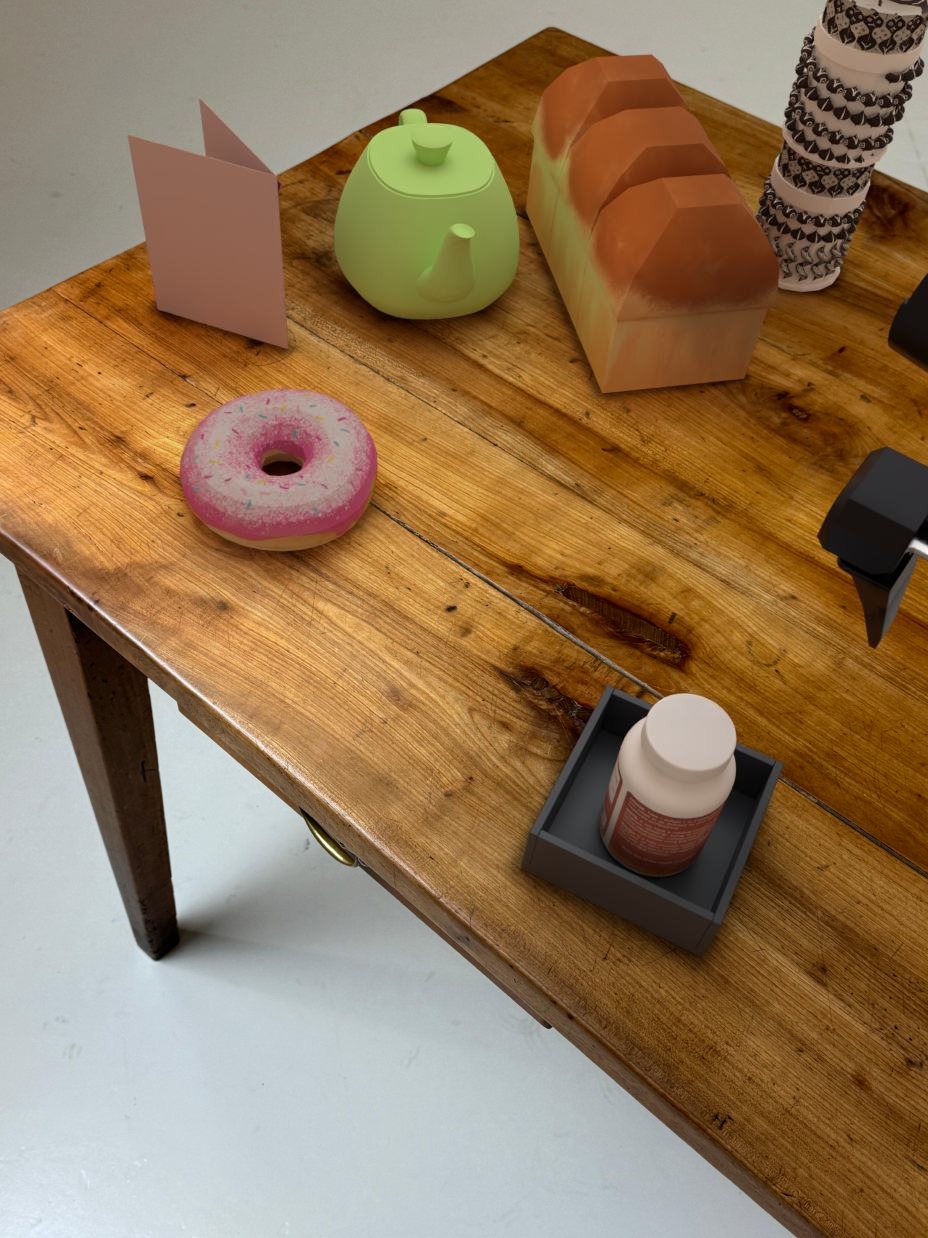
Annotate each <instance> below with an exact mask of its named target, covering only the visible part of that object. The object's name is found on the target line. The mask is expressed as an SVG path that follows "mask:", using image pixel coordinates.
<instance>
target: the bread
mask: <svg viewBox="0 0 928 1238" xmlns="http://www.w3.org/2000/svg"><path fill="white" fill-rule="evenodd" d="M530 132H531V134H532V136H533V139H534V140H533V148H532V155H531V165H530V173H529V181H528V188H527V196H526V204H525V213H526V214H527V217H528V219H529V222H530V224H531V226H532V229H533V232H534V234H535V236H536V239H537V241H538V243H539V245H540V248H541V250H542V252H543V255H544V258H545V260H546V263H547V264H548V267H549V270H550V272H551V274H552V276H553V280H554V281H555V285H556V286H557V288H558V291H559V293H560V295H561V298H562V301H563V303H564V305H565V308H566V310H567V312H568V315H569V317H570V320H571V322H572V324H573V327H574V329H575V332H576V335H577V336H578V339H579V341H580V343H581V346H582V348H583V351H584V353H585V357H586V358H587V361H588V363H589V364H590V367H591V370H592V373H593V375H594V377H595V380H596V382H597V384H598V387H599V389H600V391H601V394H609V393H619V392H620V393H621V392H629V391H639V390H648V389H655V388H656V389H657V388H667V387H677V386H686V385H687V386H688V385H697V384H705V383H714V382H715V383H716V382H725V381H733V380H743V379H745V378H746V375H747V372H748V370H749V366H750V363H751V360H752V357H753V354H754V351H755V348H756V345H757V342H758V339H759V337H760V334H761V330H762V327H763V325H764V321H765V320H766V316H767V312H768V309H771V308H772V307H774V306H777V303H778V291H779V287H778V281H779V269H780V264H779V262H778V260H777V258H776V255H775V253H774V251H773V249H772V247H771V245H770V243H769V240H768V238H767V236H766V234H765V232H764V231H763V229H762V227H761V226H760V224H759V222H758V221H757V219H756V217H755V216H754V215H755V214H754V213H753V210H752V209H751V207H750V205H749V204H748V202H747V200H746V199H745V198H744V196H743V194H742V192H741V190H739V187H738V186H737V184H736V183H735V181H734V179H732V177H731V175H730V172H729V170H728V168H727V166H726V165H725V162H724V161H723V159H722V158H721V156H720V155H719V153H718V151H717V150H716V148H715V147H714V145H713V143H712V142H711V139H710V138H709V136H708V134H707V133H706V131H705V130H704V128H703V127H702V125H701V123H700V121H699V119H698V118H697V117H696V116H695V115H693V113H692V111H691V108H690V107H689V105H688V103H687V102H686V100H685V99H684V97H683V95H682V94H681V92H680V90H679V89H678V87H677V85H676V83H675V82H674V80H673V79H672V77H671V75H670V74H669V72H668V70H667V69H666V67H665V65H664V63H662V62H661V61H660V60H659V59H658V58H656V56H654V55H653V54H651V53H650V54H630V55H629V54H628V55H611V56H610V55H609V56H594V57H591V58H590V59H587V60H584V61H582V62H579V63H577V64H575V65H572V66H570V67H567V68H566V69H565V70H564V71H563V72H562V73H561V74H560V75H559V76H557V78H555V79H554V80H553V82H551V83H550V84H548V86H547V87H546V88H545V89H544V90H543V92H542V95H541V98H540V101H539V104H538V107H537V109H536V112H535V115H534V118H533V121H532V123H531V126H530Z"/></svg>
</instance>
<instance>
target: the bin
mask: <svg viewBox="0 0 928 1238" xmlns="http://www.w3.org/2000/svg"><path fill="white" fill-rule="evenodd" d="M654 705H655V704H652V703H650V702H648V701H645V700H643V699H641V698H639V697H637V696H634V695H632V694H630V693H627V692H626V691H623V690H621V689H618V688H616V687H614V686H612V685H610V684H606V686H605V688H604V690H603V692H602V693H601V696H600V697H599V699H598V702H597V703H596V705H595V707H594V708H593V711H592V712H591V715H590V717H589V719H588V720H587V722H586V724H585V726H584V728H583V730H582V731H581V733H580V736H579V737H578V739H577V740H576V743H575V744H574V747H573V749H572V751H571V753H570V755H569V756H568V758H567V760H566V762H565V764H564V766H563V768H562V769H561V771H560V774H559V775H558V777H557V779H556V781H555V784H554V785H553V787H552V788H551V790H550V792H549V794H548V795H547V798H546V800H545V802H544V804H543V806H542V807H541V809H540V811H539V813H538V815H537V817H536V819H535V821H534V823H533V824H532V827H531V828H530V830H529V832H528V836H527V841H526V845H525V848H524V853H523V856H522V861H521V865H520V869H522V870H523V871H526V872H528V873H530V874H532V875H534V876H536V877H538V878H540V879H541V880H544V881H546V882H548V883H550V884H552V885H554V886H556V887H558V888H560V889H562V890H564V891H566V892H569V893H570V894H572V895H574V896H576V897H578V898H581V899H582V900H584V901H586V902H588V903H590V904H592V905H594V906H597V907H599V908H601V909H603V910H605V911H606V912H609V913H611V914H613V915H614V916H617V917H618V918H621V919H623V920H625V921H627V922H629V923H630V924H632V925H635V926H637V927H638V928H641V929H643V930H645V931H647V932H649V933H652V934H653V935H654V936H657V937H659V938H661V939H663V940H665V941H667V942H669V943H671V944H674V945H676V946H677V947H680V948H681V949H683V950H686V951H687V952H690V953H692V954H694V955H696V956H698V957H700V958H702V957H703V955H704V954H705V952H706V950H707V949H708V947H709V945H710V944H711V942H712V941H713V939H714V938H715V936H716V935H717V933H718V931H719V929H720V928H721V926H722V924H723V921H724V920H725V916H726V914H727V912H728V909H729V906H730V903H731V901H732V898H733V896H734V894H735V891H736V888H737V885H738V884H739V880H740V878H741V876H742V873H743V870H744V868H745V865H746V863H747V860H748V858H749V856H750V852H751V850H752V848H753V845H754V842H755V840H756V837H757V836H758V835H757V834H758V833H759V830H760V827H761V825H762V822H763V819H764V817H765V815H766V811H767V810H768V807H769V805H770V802H771V799H772V796H773V794H774V791H775V789H776V786H777V784H778V781H779V779H780V776H781V774H782V770H783V768H784V766H785V763H784V762H781V761H779V760H776V759H775V758H773V757H771V756H768V755H766V754H764V753H761V752H759V751H757V750H755V749H752V748H750V747H748V746H746V745H744V744H742V743H739V742H737V741H736V747H735V750H734V753H733V754H734V758H735V763H736V775H735V780H734V784H733V787H732V789H731V791H730V794H729V796H728V798H727V800H726V802H725V804H724V806H723V808H722V810H721V812H720V814H719V816H718V818H717V820H716V822H715V824H714V826H713V828H712V830H711V832H710V834H709V836H708V838H707V840H706V843H705V845H704V847H703V849H702V851H701V852H700V854H699V856H698V857H697V859H696V860H695V861H694V862H693V863H692V864H691V865H690V866H689V867H688V868H686V869H685V870H683V871H681V872H679V873H677V874H674V875H671V876H666V877H651V876H645V875H641V874H638V873H636V872H633V871H631V870H630V869H628V868H626V867H625V866H623V865H622V864H621V863H619V862H618V861H617V860H616V859H615V858H614V857H613V856H612V855H611V854H610V853H609V851H608V850H607V848H606V846H605V845H604V842H603V840H602V838H601V834H600V829H599V817H600V812H601V808H602V805H603V802H604V799H605V795H606V792H607V789H608V786H609V783H610V780H611V776H612V773H613V770H614V767H615V764H616V761H617V758H618V755H619V751H620V748H621V745H622V743H623V741H624V738H625V737H626V735H627V733H628V732H629V731H630V729H631V728H632V727H633V726H634V725H635V724H636V723H637V722H639V721H640V720H642V719H643V718H645V717H647V715H648V713H649V711H650V710H651V708H652V707H653V706H654Z"/></svg>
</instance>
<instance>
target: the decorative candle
mask: <svg viewBox="0 0 928 1238" xmlns="http://www.w3.org/2000/svg"><path fill="white" fill-rule="evenodd" d="M927 30H928V0H826V1H825V5H824V9H823V12H821V14H820V15H819V17H818V19H817V23H816V25H815V26H813V28H812V29H811V32H810V33H807V34H806V35H805V36H804V38H803V42H802V44H803V46H802V47H801V49H800V56H799V58H798V63H797V64H796V66H795V68H794V71H795V74H796V75H797V77H796V79H795V80H794V81H793V83H792V85H791V89H792V90H791V91H790V92H789V96H788V98H789V100H788V102H787V105H788V106H787V107H785V108H784V111H783V115H784V117H785V119H784V120H783V122H782V127H781V128H782V137H783V141H782V145H781V147H780V152H779V154H778V155H777V157H776V158H775V159H774V163H773V166H772V169H771V172H770V173H768V176H767V179H765V180H764V182H763V189H764V191H763V193H762V195H761V196H760V197H759V199H758V204H759V207H758V209H757V210H756V212H755V214H754V216H755V217H756V219H757V221H758V222H759V224H760V226H761V227H762V229H763V231H764V232H765V234H766V236H767V238H768V240H769V243H770V245H771V247H772V249H773V251H774V253H775V255H776V258H777V260H778V262H779V264H780V269H779V281H778V289H782V290H788V291H794V292H799V293H804V292H815V291H821V290H822V289H823V290H824V289H825V288H827V287H829V286H831V285H833V284H834V282H835V281H836V279H837V278H838V277H839V275H840V273H841V267H842V266H843V265H844V261H843V260H842V259H843V258H846V257H847V255H848V252H849V250H850V245H849V243H851V242H853V240H854V237H853V236H852V234H854V233H855V232H856V230H857V226H858V225H859V223H860V219H861V218H860V217H861V216H862V215H863V213H864V209H865V208H866V206H867V201H866V197H867V194H868V191H869V189H870V186H871V176H872V175H873V172H874V169H875V166H876V163H878V162H880V161H881V160H882V158H883V157H884V156H885V155H886V154H887V151H888V149H889V147H888V145H889V144H891V143H892V142H893V140H894V134H895V133H894V132H895V130H894V128H893V127H892V126H893V125H894V124H896V123H897V122H900V121H902V120H903V117H904V114H905V112H906V106H904V105H905V104H906V102H909V101H910V100H911V99H912V97H913V85H912V83H910V82H912V81H915V79H916V78H919V77H921V76H922V75H923V74H924V68H925V61H924V59H922V58H921V53H922V50H923V48H924V45H925V43H926V39H925V34H926V31H927Z"/></svg>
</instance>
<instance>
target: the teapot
mask: <svg viewBox="0 0 928 1238" xmlns="http://www.w3.org/2000/svg"><path fill="white" fill-rule="evenodd" d="M334 222H335V223H334V229H333V249H334V254H335V258H336V261H337V263H338V266H339V268H340V271H341V272H342V274H343V275H344V277H345V279H346V280H347V281H348V283H349V284H350V285H351V286H352V287H353V289H354V290H355V291H356V292H357V293H358V294H359V295H360V296H361V298H362V299H364V300H365V301H366V302H367V303H369V304H370V306H372V307H374V308H375V309H376V310H378V311H380V312H382V313H384V314H386V315H389V316H392V317H396V318H401V319H409V320H440V319H449V318H456V317H462V316H467V315H471V314H474V313H477V312H480V311H482V310H484V309H485V308H487V307H488V306H490V305H491V304H493V303H494V302H495V301H496V300H498V299H499V298H500V297H501V296H502V295H503V294H504V293H505V292H507V290H508V289H509V288H510V286H511V285H512V283H513V281H514V279H515V277H516V274H517V272H518V267H519V263H520V261H519V260H520V249H521V243H520V231H519V230H520V229H519V223H518V216H517V211H516V208H515V203H514V201H513V197H512V195H511V192H510V189H509V186H508V185H507V183H506V180H505V178H504V176H503V173H502V171H501V169H500V167H499V164H498V163H497V161H496V159H495V157H494V156H493V154H492V153H491V151H490V150H489V148H488V146H487V145H486V144H485V143H484V141H482V139H481V138H479V136H477V135H476V134H475V133H473V132H471V130H468V129H466V128H464V127H461V126H459V125H455V124H450V123H437V122H436V123H434V122H428V119H427V115H426V113H425V112H424V111H423V110H421V109H418V108H408V109H404V110H403V111H401V112H400V114H399V117H398V125H395V126H392V127H388V128H386V129H383V130H381V131H379V132H378V133H377V134H375V135H374V136H372V138H371V140H370V141H369V142H368V143H367V145H366V146H365V148H364V150H363V151H362V153H361V154H360V156H359V158H358V160H357V162H356V163H355V165H354V166H353V168H352V170H351V172H350V174H349V176H348V178H347V180H346V182H345V184H344V187H343V190H342V192H341V195H340V198H339V201H338V207H337V211H336V215H335V221H334Z"/></svg>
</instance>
